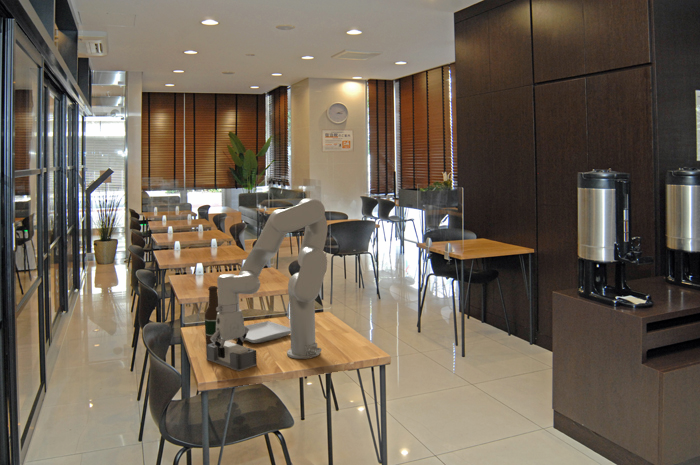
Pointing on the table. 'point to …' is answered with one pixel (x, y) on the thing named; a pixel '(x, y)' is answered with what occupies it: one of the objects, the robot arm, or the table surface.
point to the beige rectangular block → (231, 350)
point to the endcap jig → (233, 358)
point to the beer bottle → (211, 314)
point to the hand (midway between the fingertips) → (230, 354)
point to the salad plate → (265, 332)
